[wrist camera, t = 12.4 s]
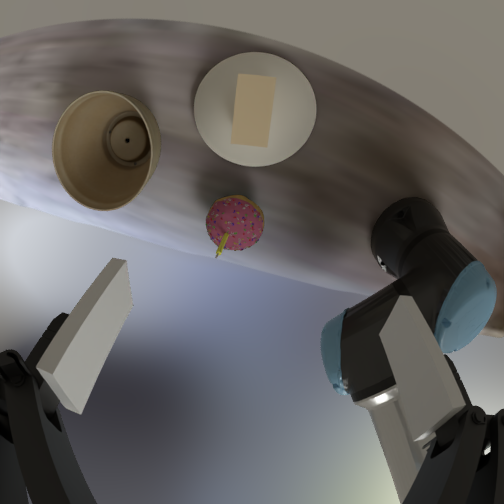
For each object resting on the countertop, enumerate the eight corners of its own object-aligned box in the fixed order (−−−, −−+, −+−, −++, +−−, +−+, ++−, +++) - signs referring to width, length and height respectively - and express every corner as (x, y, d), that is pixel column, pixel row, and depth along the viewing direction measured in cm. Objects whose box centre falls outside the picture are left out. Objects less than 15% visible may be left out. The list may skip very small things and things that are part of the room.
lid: (321, 63, 31) (341, 52, 22) (305, 171, 40) (318, 193, 31) (201, 50, 31) (182, 35, 22) (192, 159, 39) (172, 177, 31)
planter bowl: (102, 83, 33) (61, 84, 24) (191, 102, 35) (168, 103, 26) (84, 172, 41) (47, 194, 31) (163, 197, 43) (138, 226, 34)
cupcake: (232, 244, 47) (224, 288, 37) (199, 206, 44) (180, 242, 34) (274, 217, 44) (278, 256, 34) (242, 175, 41) (235, 203, 31)
